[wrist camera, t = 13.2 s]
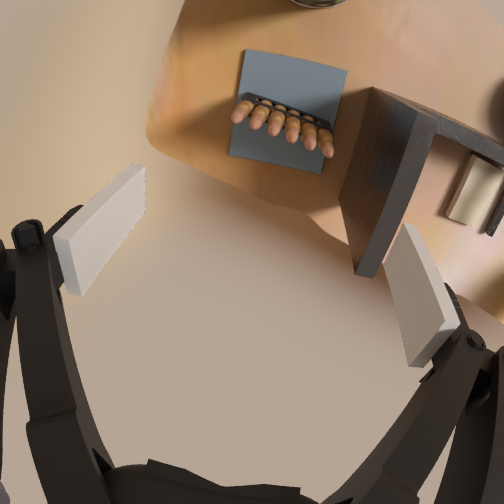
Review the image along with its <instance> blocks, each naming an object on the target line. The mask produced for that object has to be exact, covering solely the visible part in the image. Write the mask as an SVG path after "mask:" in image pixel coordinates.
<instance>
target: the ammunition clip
mask: <svg viewBox="0 0 504 504" xmlns="http://www.w3.org/2000/svg"><path fill="white" fill-rule="evenodd" d="M241 100H242V101H241V102H240V103H239V104H238V105H237V106H236V107H235V109H234V112H233V113H232V115H231V121H232V122H233V123H235V124H236V123H240V122H241V121H243V120H244V119H246V118H247V117H250V118H251V119H250V123H249V125H250V128H251V129H253V130H256V129H258V128H260V127H261V125H262V124H264V123H267V124H268V133H269V135H271V136H276V135H277V134H278V133H279V132H280V130H281V129H284V132H285V134H286V139H287V141H288V142H289V143H294V142H296V140H297V139H298V135H300V136H301V138H302V140H303V142H304V145H305V147H306V148H307V149H308V150H310V151H312V150H314V148H315V147H316V142H317V143H318V146H319V147H320V148H321V150H322V153H323V154H324V155H325V156H326V157H327V158H331V157H332V156H333V154H334V147H333V144H334V142H333V138H332V136H331V134H332V132H333V131H332V127H331V124H330V122H328V121H326V120H324V119H321V118H319V117H316V116H314V115H311V114H309V113H306V112H304V111H301V110H299V109H296V108H293V107H291V106H288V105H285V104H282V103H280V102H277V101H274V100H271V99H268V98H265V97H262V96H259V95H256V94H253V93H250V92H246V93H245V95H244V96H243V98H242V99H241ZM252 111H253V112H252ZM251 113H252V114H251ZM268 116H269V119H268V120H267V118H268ZM284 122H285V126H284ZM300 130H301V133H300ZM330 132H331V133H330Z"/></svg>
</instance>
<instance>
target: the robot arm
mask: <svg viewBox="0 0 504 504" xmlns="http://www.w3.org/2000/svg"><path fill="white" fill-rule="evenodd" d="M144 214H145V166H142V165H135V164H131V165H130V166H128V167H127V168H126V169H125V170H124V171H122V172H121V173H120V174H119V175H118V176H117V177H115V178H114V179H113V180H112V181H111V182H110V183H108V184H107V185H106V186H105V187H104V188H103V189H101V190H100V191H99V192H98V193H97V194H96V195H95V196H94V197H93V198H92V199H90V200H89V201H88V202H87V203H86V204H85V205H78V206H76V207H74V208H72V209H70V210H69V211H68V212H67V213H66V214H65V215H64V216H63V217H62V218H61V219H60V220H59V221H58V223H57V222H56V223H55V224H54V225H53V226H52V227H51V228H50V229H49V230H48V231H47V232H46V233H45V234H44V230H43V225H42V223H41V222H40V221H38V220H34V219H31V220H26V221H23V222H21V223H19V224H17V225H16V226H15V227H14V228H13V229H12V232H11V235H12V239H13V242H14V245H15V249H5V247H4V244H3V242H2V240H1V239H0V480H1V471H2V451H3V448H2V436H3V430H2V429H3V408H4V393H5V382H6V374H7V365H8V358H9V351H10V344H11V339H12V334H13V328H14V323H15V318H16V317H17V333H18V344H19V353H20V362H21V369H22V376H23V383H24V389H25V395H26V399H27V405H28V410H29V415H30V421H29V422H27V423H26V432H27V438H28V442H29V446H30V449H31V453H32V457H33V460H34V463H35V467H36V470H37V473H38V476H39V479H40V482H41V485H42V488H43V491H44V494H45V496H46V499H47V502H48V504H319V503H317V502H316V501H314V500H312V499H310V498H308V497H306V496H304V495H301V494H300V487H288V486H287V487H286V486H278V485H269V484H258V485H247V486H232V487H231V486H230V487H224V486H220V485H218V484H215V483H213V482H211V481H209V480H206V479H204V478H202V477H200V476H198V475H196V474H194V473H192V472H190V471H188V470H186V469H183V468H179V467H175V466H172V465H168V464H165V463H161V462H158V461H154V460H151V459H148V462H147V465H143V464H137V465H126V466H121V467H118V468H115V466H114V464H113V462H112V460H111V458H110V456H109V454H108V452H107V450H106V449H105V447H104V445H103V442H102V440H101V438H100V435H99V433H98V430H97V428H96V425H95V422H94V419H93V416H92V413H91V410H90V408H89V404H88V402H87V398H86V395H85V392H84V389H83V386H82V383H81V379H80V376H79V372H78V369H77V365H76V361H75V357H74V353H73V349H72V345H71V341H70V337H69V333H68V328H67V323H66V318H65V313H64V308H63V303H62V297H61V293H60V290H59V288H60V286H61V285H62V284H63V283H65V287H66V290H67V293H70V294H73V295H76V296H79V297H83V296H84V294H85V293H86V291H87V290H88V289H89V287H90V286H91V284H92V283H93V281H94V280H95V279H96V277H97V276H98V274H99V273H100V271H101V270H102V269H103V267H104V266H105V265H106V263H107V262H108V260H109V259H110V258H111V256H112V255H113V254H114V252H115V251H116V250H117V248H118V247H119V246H120V244H121V243H122V242H123V240H124V239H125V238H126V237H127V235H128V234H129V233H130V231H131V230H132V229H133V227H134V226H135V225H136V224H137V223H138V221H139V220H140V219H141V217H142V216H143V215H144ZM383 265H384V269H385V272H386V276H387V279H388V283H389V286H390V290H391V293H392V297H393V301H394V305H395V309H396V312H397V317H398V321H399V325H400V329H401V333H402V338H403V342H404V347H405V352H406V356H407V361H408V366H410V367H421V368H423V367H424V366H425V365H426V364H427V363H428V362H429V361H430V360H431V359H432V363H433V368H431V369H430V371H429V372H428V373H427V374H426V375H425V376H424V377H423V378H422V379H421V380H420V381H419V382H420V383H421V382H422V383H421V385H420V386H419V388H418V389H417V391H416V392H415V394H414V395H413V397H412V398H411V400H410V401H409V403H408V404H407V406H406V407H405V409H404V410H403V411H402V413H401V414H400V416H399V417H398V419H397V420H396V421H395V423H394V424H393V425H392V427H391V428H390V429H389V431H388V432H387V433H386V435H385V436H384V437H383V439H382V440H381V441H380V442H379V444H378V445H377V446H376V448H375V449H374V450H373V451H372V452H371V454H370V455H369V456H368V457H367V458H366V460H365V461H364V462H363V463H362V464H361V465H360V467H359V468H358V469H357V470H356V471H355V472H354V473H353V474H352V476H351V477H350V478H349V479H348V480H347V481H346V482H345V483H344V484H343V485H342V486H341V487H340V488H339V489H338V490H337V491H336V492H335V493H333V494H332V495H331V496H329V497H328V498H327V499H326V500H324V501H323V502H322V503H321V504H419V500H420V499H419V498H418V497H417V493H418V491H419V489H420V488H421V486H422V485H423V483H424V481H425V480H426V478H427V477H428V475H429V473H430V472H431V470H432V468H433V467H434V465H435V463H436V461H437V460H438V458H439V456H440V454H441V453H442V451H443V449H444V447H445V445H446V443H447V442H448V440H449V438H450V436H451V434H452V431H453V430H454V428H455V426H456V429H455V434H454V438H453V442H452V446H451V450H450V453H449V457H448V461H447V464H446V468H445V472H444V474H443V478H442V481H441V484H440V487H439V490H438V493H437V496H436V499H435V501H434V504H504V346H502V347H501V348H500V349H499V350H498V351H497V352H496V353H495V352H493V351H491V350H489V349H487V348H486V345H485V342H484V340H483V338H482V337H481V336H480V335H479V334H478V333H477V332H475V331H473V330H470V329H469V327H468V325H467V322H466V320H465V317H464V315H463V312H462V310H461V308H460V305H459V303H458V302H457V298H456V296H455V294H454V292H453V290H452V289H451V288H450V287H449V285H448V284H447V283H444V282H443V280H442V278H441V276H440V274H439V271H438V269H437V267H436V265H435V263H434V261H433V259H432V257H431V255H430V253H429V251H428V249H427V247H426V245H425V243H424V241H423V239H422V237H421V235H420V233H419V231H418V229H417V227H416V226H414V225H411V224H407V223H404V222H403V224H402V226H401V228H400V231H399V233H398V235H397V237H396V239H395V241H394V244H393V246H392V248H391V250H390V252H389V254H388V256H387V258H386V260H385V262H384V264H383ZM0 504H10V498H9V496H8V494H7V492H6V491H5V488H4V486H3V484H2V483H1V482H0Z"/></svg>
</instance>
